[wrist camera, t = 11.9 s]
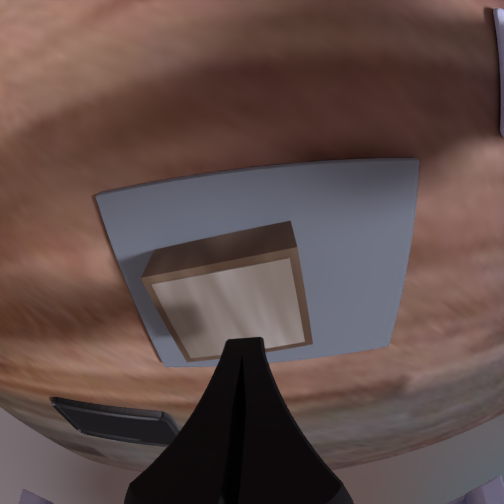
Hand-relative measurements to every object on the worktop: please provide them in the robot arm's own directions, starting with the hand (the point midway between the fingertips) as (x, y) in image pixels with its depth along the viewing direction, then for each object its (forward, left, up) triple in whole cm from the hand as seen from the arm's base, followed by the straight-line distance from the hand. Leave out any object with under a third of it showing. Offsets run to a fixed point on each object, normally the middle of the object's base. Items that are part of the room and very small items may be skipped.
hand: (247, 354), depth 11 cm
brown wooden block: (-3, 0, -4) cm, 5 cm away
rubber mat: (-1, +1, -6) cm, 6 cm away
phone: (+17, +19, -6) cm, 26 cm away
